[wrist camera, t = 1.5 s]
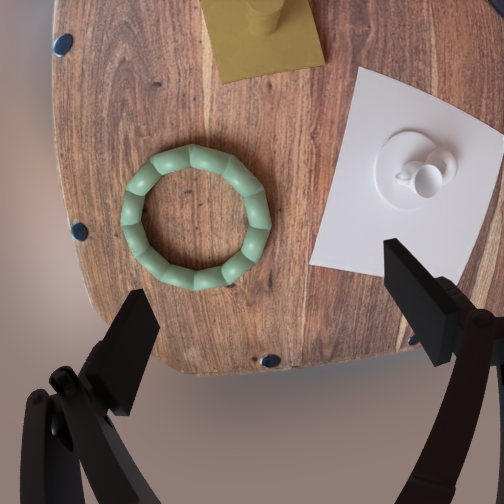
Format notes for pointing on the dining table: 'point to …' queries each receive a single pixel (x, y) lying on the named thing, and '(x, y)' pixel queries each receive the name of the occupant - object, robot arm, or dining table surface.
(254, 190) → the ring
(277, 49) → the post
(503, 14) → the toy spaceship
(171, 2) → the dining table surface
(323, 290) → the dining table surface
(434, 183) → the teacup and saucer
